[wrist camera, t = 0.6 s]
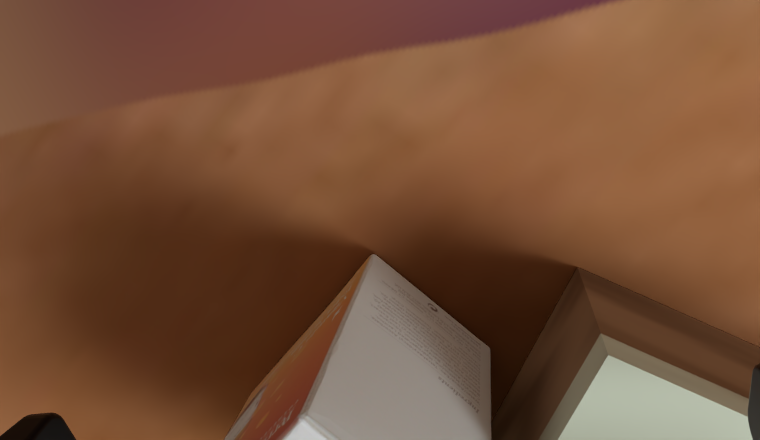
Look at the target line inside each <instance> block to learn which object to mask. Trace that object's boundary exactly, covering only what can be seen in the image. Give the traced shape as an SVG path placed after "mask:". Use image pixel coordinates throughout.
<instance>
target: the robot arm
mask: <svg viewBox="0 0 760 440" xmlns="http://www.w3.org/2000/svg"><path fill="white" fill-rule="evenodd" d="M748 423H749V428H750V432H751V435H752V438H753V440H760V363H758V364H756V365H755V367H754V369H753V372H752V378H751V387H750V395H749V403H748ZM0 440H76V439H75V437H74V435H73V434H72V432H71V431H70V429H69V428H68V426H67V424H66V423H65V421H64V420H63V418H62V417H61V416H60V415H58V414H56V413H41V414H31V415H28V416H26V417H24V418H22V419H21V420H20V421H19V422H17V423H16V424H15V425H14V426H12V427H11V428H10V429H9V430H7V431H6V432H5V433H4V434H2V435H1V436H0Z"/></svg>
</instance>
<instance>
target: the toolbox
mask: <svg viewBox="0 0 760 440" xmlns="http://www.w3.org/2000/svg"><path fill="white" fill-rule="evenodd" d="M758 363H760V347H757V346H755V345H753V344H750V343H748V342H746V341H744V340H741V339H739V338H737V337H735V336H732V335H730V334H728V333H726V332H723V331H721V330H719V329H717V328H714V327H712V326H710V325H708V324H705V323H703V322H701V321H698V320H696V319H694V318H692V317H689V316H687V315H685V314H683V313H680V312H678V311H676V310H674V309H671V308H669V307H667V306H665V305H662V304H660V303H658V302H656V301H653V300H651V299H649V298H647V297H644V296H642V295H640V294H637V293H635V292H633V291H631V290H628V289H626V288H624V287H622V286H619V285H617V284H615V283H613V282H610V281H608V280H606V279H604V278H601V277H599V276H597V275H595V274H592V273H590V272H588V271H585V270H583V269H581V268H579V267H577V269H576V271H575V272H574V274H573V276H572V278H571V280H570V281H569V283H568V285H567V287H566V289H565V290H564V292H563V294H562V296H561V298H560V300H559V301H558V303H557V305H556V307H555V309H554V310H553V312H552V314H551V316H550V318H549V319H548V321H547V323H546V325H545V327H544V328H543V330H542V332H541V334H540V336H539V338H538V339H537V341H536V343H535V345H534V347H533V348H532V350H531V352H530V354H529V356H528V357H527V359H526V361H525V363H524V365H523V366H522V368H521V370H520V372H519V374H518V376H517V377H516V379H515V381H514V383H513V385H512V386H511V388H510V390H509V392H508V394H507V395H506V397H505V399H504V401H503V403H502V404H501V406H500V408H499V410H498V412H497V414H496V415H495V417H494V419H493V421H492V423H491V440H753V438H752V435H751V432H750V428H749V423H748V403H749V395H750V387H751V378H752V372H753V369H754V367H755V365H756V364H758Z"/></svg>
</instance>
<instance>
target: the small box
mask: <svg viewBox="0 0 760 440" xmlns="http://www.w3.org/2000/svg"><path fill="white" fill-rule="evenodd" d="M490 361H491V356H490V348H489V347H488V346H487V345H486V344H484V343H483V342H482V341H481V340H479V339H478V338H477V337H476V336H474V335H473V334H472V333H471V332H470V331H468V330H467V329H466V328H465V327H464V326H462V325H461V324H460V323H459V322H457V321H456V320H455V319H454V318H453V317H451V316H450V315H449V314H448V313H446V312H445V311H444V310H443V309H442V308H440V307H439V306H438V305H437V304H436V303H434V302H433V301H432V300H431V299H429V298H428V297H427V296H426V295H425V294H423V293H422V292H421V291H420V290H418V289H417V288H416V287H415V286H413V285H412V284H411V283H410V282H409V281H407V280H406V279H405V278H404V277H402V276H401V275H400V274H399V273H398V272H396V271H395V270H394V269H393V268H391V267H390V266H389V265H388V264H386V263H385V262H384V261H383V260H382V259H380V258H379V257H378V256H377V255H375V254H372V255H370V256H369V257H368V258H367V260H366V261H365V262H364V263H363V265H362V266H361V267H360V268H359V269H358V271H357V272H356V273H355V274H354V276H353V277H352V278H351V279H350V281H349V282H348V283H347V284H346V286H345V287H344V288H343V289H342V290H341V292H340V293H339V294H338V295H337V296H336V297H335V299H334V300H333V301H332V302H331V303H330V304H329V306H328V307H327V308H326V309H325V310H324V311H323V313H322V314H321V315H320V316H319V317H318V318H317V319H316V320H315V321H314V323H313V324H312V325H311V326H310V327H309V328H308V329H307V330H306V331H305V333H304V334H303V335H302V336H301V337H300V338H299V339H298V340H297V341H296V343H295V344H294V345H293V346H292V347H291V348H290V349H289V350H288V352H287V353H286V354H285V355H284V356H283V357H282V358H281V360H280V361H279V362H278V363H277V364H276V365H275V366H274V368H273V369H272V370H271V371H270V372H269V373H268V374H267V375H266V377H265V378H264V379H263V380H262V381H261V382H260V383H259V385H258V386H257V387H256V388H255V389H254V390H253V391H252V393H251V394H250V396H249V398H248V399H247V401H246V403H245V405H244V406H243V408H242V410H241V412H240V413H239V415H238V417H237V418H236V420H235V422H234V424H233V425H232V427H231V428H230V430H229V432H228V433H227V435H226V437H225V438H224V440H491V362H490Z"/></svg>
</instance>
